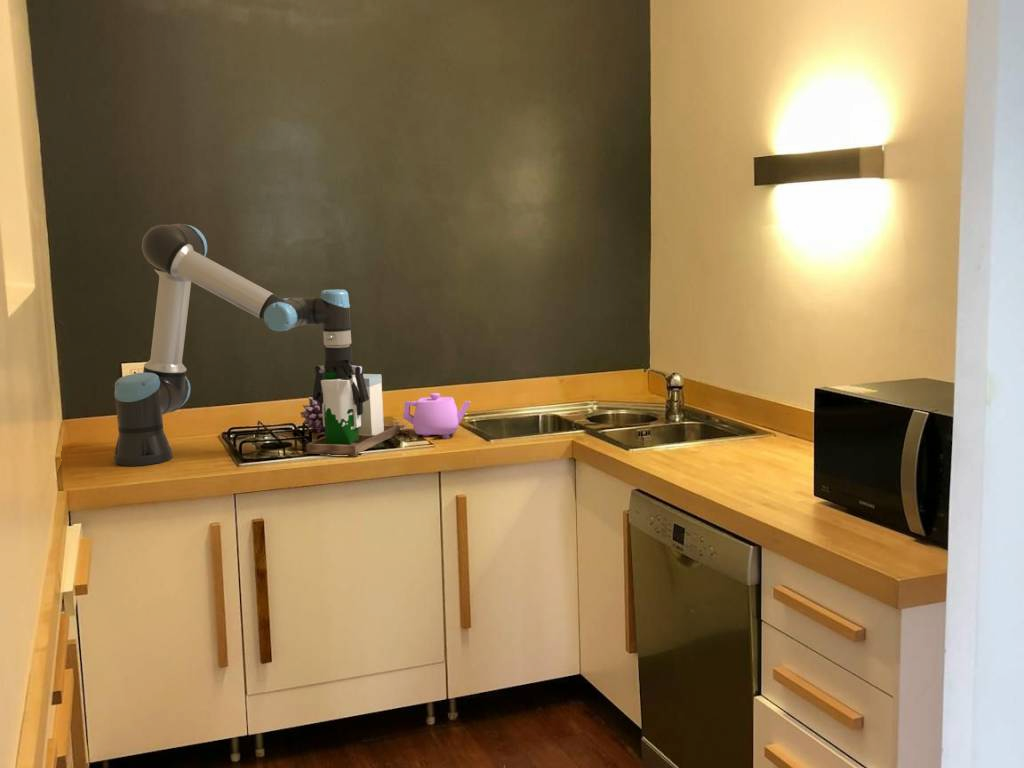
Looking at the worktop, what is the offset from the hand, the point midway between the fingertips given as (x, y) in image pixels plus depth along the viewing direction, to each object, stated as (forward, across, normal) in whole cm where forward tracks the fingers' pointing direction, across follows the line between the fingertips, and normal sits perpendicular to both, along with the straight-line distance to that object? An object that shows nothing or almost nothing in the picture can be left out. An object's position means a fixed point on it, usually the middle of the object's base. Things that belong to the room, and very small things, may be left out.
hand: (342, 426), depth 296 cm
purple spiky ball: (+7, -18, +20) cm, 28 cm away
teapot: (+7, +19, +23) cm, 31 cm away
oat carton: (+6, 0, +14) cm, 15 cm away
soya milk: (+5, 0, 0) cm, 5 cm away
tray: (+7, 0, +7) cm, 10 cm away
